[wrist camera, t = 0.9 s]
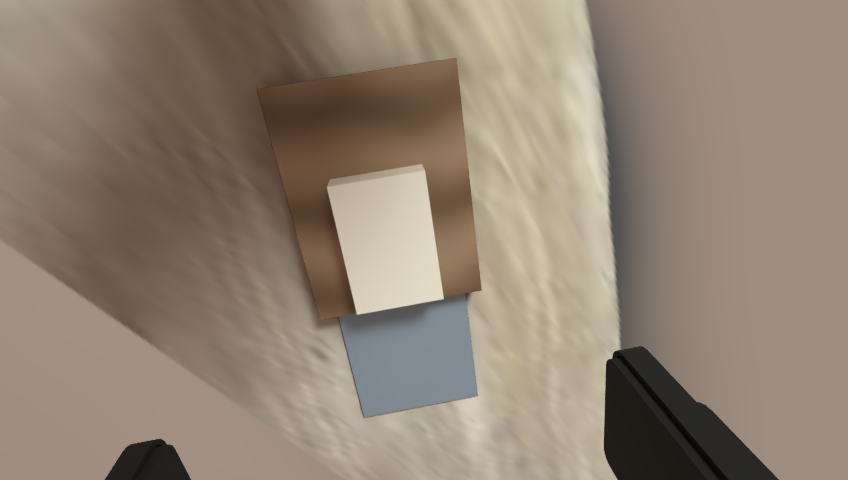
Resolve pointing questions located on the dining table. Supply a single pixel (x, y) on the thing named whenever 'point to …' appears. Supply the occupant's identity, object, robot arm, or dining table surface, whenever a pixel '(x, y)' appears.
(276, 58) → the dining table surface
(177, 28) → the dining table surface
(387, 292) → the cream rectangular block
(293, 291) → the dining table surface
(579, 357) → the dining table surface
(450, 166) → the plate
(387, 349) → the mat
